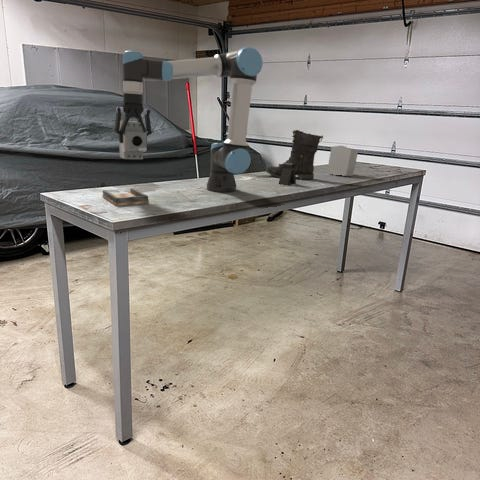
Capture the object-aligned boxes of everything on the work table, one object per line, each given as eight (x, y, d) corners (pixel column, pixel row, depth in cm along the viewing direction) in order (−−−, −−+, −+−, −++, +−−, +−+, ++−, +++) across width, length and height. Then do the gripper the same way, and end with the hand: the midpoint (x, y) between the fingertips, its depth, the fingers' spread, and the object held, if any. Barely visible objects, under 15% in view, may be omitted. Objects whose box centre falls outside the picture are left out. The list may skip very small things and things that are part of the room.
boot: (266, 174, 267) (269, 128, 258) (318, 178, 261) (323, 131, 253) (264, 176, 256) (267, 128, 247) (318, 181, 250) (323, 131, 242)
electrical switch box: (356, 179, 281) (362, 149, 277) (345, 177, 270) (351, 146, 266) (337, 176, 290) (342, 147, 286) (326, 174, 279) (332, 144, 275)
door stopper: (287, 185, 229) (288, 163, 225) (278, 184, 232) (280, 162, 229) (296, 184, 235) (297, 162, 232) (287, 182, 239) (289, 161, 236)
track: (133, 194, 185) (133, 188, 184) (148, 203, 171) (148, 196, 170) (102, 197, 178) (102, 190, 177) (115, 205, 164) (115, 198, 163)
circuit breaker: (129, 161, 165) (129, 122, 160) (119, 156, 176) (119, 120, 172) (147, 161, 168) (148, 123, 164) (136, 157, 180) (136, 121, 176)
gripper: (153, 95, 173) (153, 150, 180) (104, 91, 162) (106, 150, 169) (160, 95, 167) (160, 152, 174) (110, 90, 156) (111, 152, 163)
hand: (133, 151), depth 171 cm, fingers closed on circuit breaker, 8 cm apart
